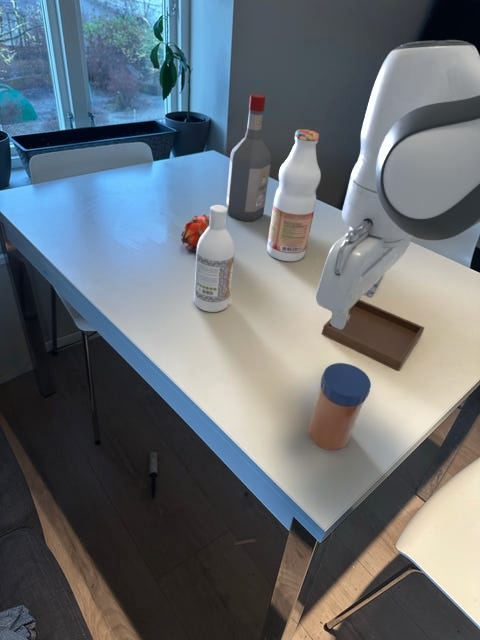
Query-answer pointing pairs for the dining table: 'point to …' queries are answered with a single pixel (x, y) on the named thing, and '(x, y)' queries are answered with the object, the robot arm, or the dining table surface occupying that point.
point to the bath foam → (214, 263)
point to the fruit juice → (295, 200)
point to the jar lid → (345, 384)
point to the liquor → (249, 168)
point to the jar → (332, 423)
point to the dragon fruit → (194, 231)
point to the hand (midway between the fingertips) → (354, 309)
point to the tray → (377, 334)
